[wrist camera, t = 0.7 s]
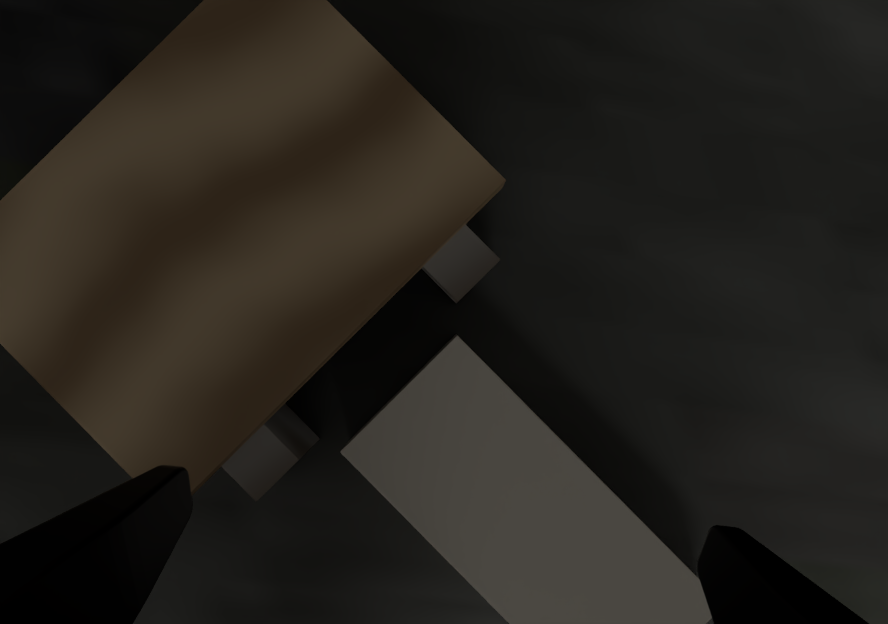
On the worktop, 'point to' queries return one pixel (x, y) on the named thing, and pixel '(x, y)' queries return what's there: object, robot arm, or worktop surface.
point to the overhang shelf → (231, 235)
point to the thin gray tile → (516, 504)
